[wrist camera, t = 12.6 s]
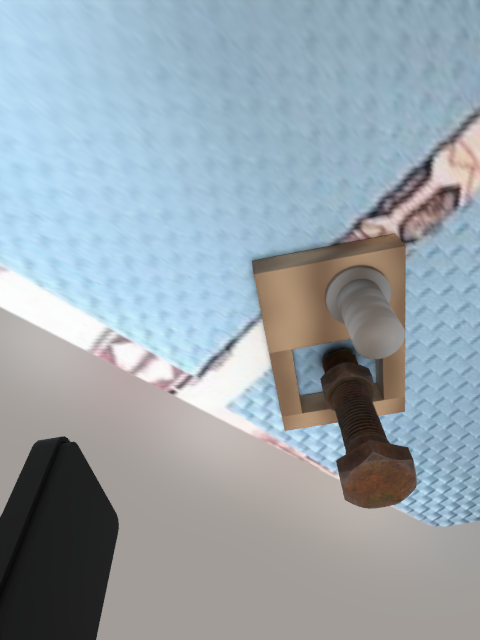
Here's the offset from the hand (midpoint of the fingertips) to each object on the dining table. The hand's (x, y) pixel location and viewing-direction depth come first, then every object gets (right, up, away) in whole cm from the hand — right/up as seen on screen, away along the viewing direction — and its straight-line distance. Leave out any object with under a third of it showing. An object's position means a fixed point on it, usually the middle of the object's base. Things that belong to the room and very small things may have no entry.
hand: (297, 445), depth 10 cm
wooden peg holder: (+7, +1, +33) cm, 34 cm away
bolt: (+8, -1, +35) cm, 36 cm away
